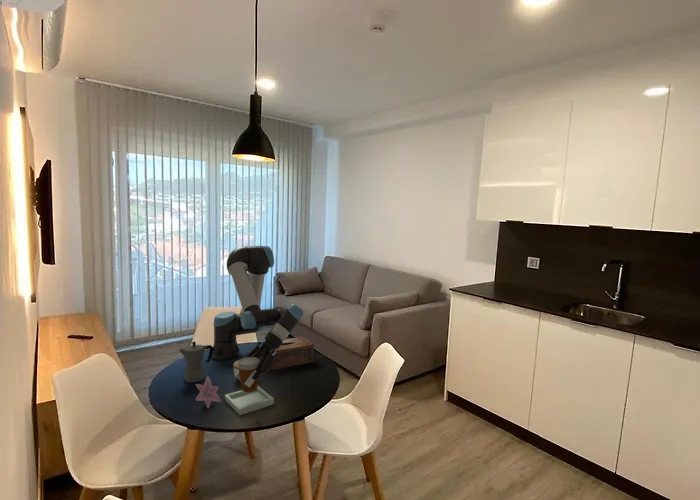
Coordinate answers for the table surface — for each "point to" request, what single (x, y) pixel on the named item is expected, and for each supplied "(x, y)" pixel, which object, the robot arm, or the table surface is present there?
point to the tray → (249, 400)
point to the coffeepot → (195, 361)
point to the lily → (207, 392)
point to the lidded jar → (236, 367)
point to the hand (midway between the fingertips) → (241, 381)
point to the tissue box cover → (292, 353)
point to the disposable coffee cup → (248, 372)
